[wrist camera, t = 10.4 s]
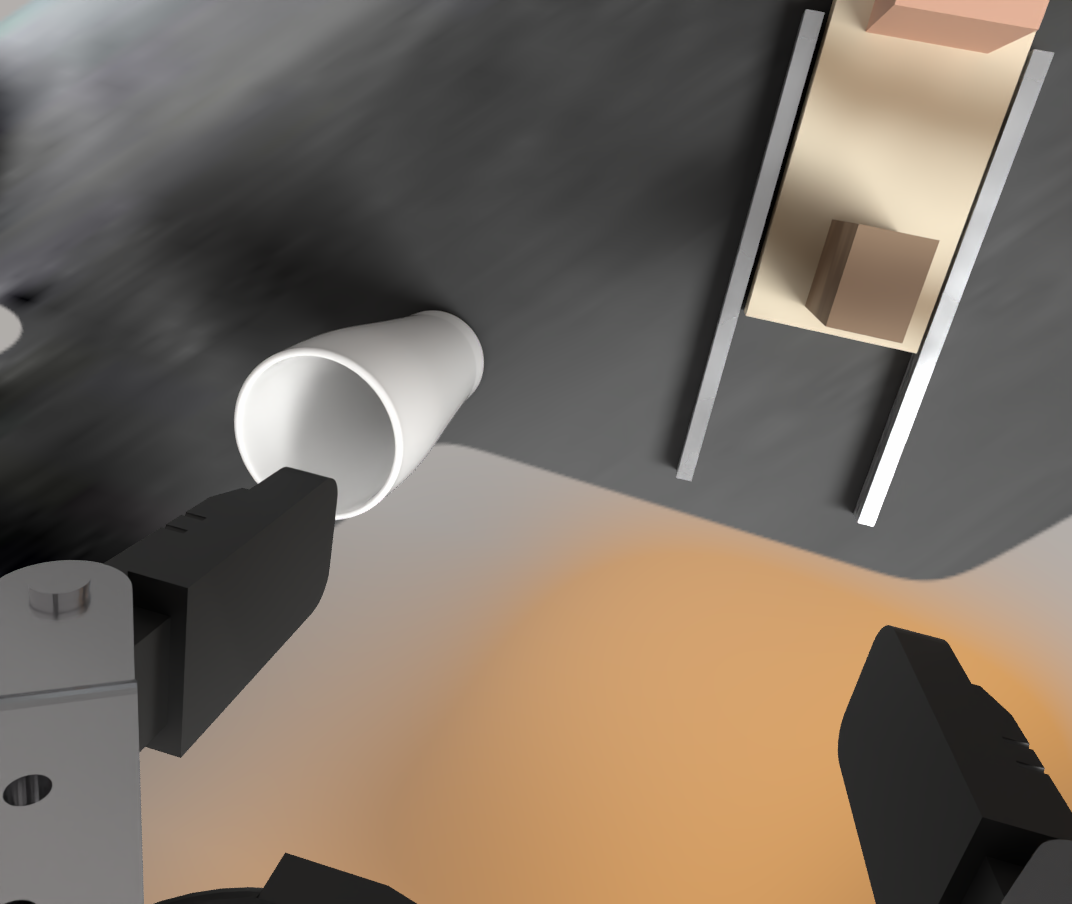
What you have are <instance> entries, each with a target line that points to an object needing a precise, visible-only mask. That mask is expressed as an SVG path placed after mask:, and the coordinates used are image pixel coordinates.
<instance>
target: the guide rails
mask: <svg viewBox="0 0 1072 904" xmlns="http://www.w3.org/2000/svg"><path fill="white" fill-rule="evenodd" d="M824 13H825V12H820V11H814V10H809V9H806V10H805V11H804V13H803V15H802V18H801V21H800V25H799V28H798V32H797V36H796V39H795V43H794V47H793V50H792V54H791V57H790V61H789V65H788V68H787V72H786V76H785V79H784V83H783V86H782V90H781V94H780V97H779V101H778V105H777V108H776V112H775V115H774V119H773V123H772V126H771V130H770V134H769V137H768V141H767V144H766V148H765V152H764V155H763V159H762V163H761V166H760V170H759V173H758V177H757V181H756V184H755V188H754V191H753V195H752V199H751V202H750V206H749V210H748V213H747V217H746V220H745V224H744V228H743V231H742V235H741V239H740V242H739V246H738V249H737V253H736V257H735V260H734V264H733V268H732V271H731V275H730V278H729V282H728V286H727V289H726V293H725V297H724V300H723V304H722V307H721V311H720V315H719V318H718V322H717V325H716V329H715V333H714V336H713V340H712V344H711V347H710V351H709V354H708V358H707V362H706V365H705V369H704V373H703V376H702V380H701V383H700V387H699V391H698V394H697V398H696V402H695V405H694V409H693V412H692V416H691V420H690V423H689V427H688V431H687V434H686V438H685V441H684V445H683V449H682V452H681V456H680V460H679V463H678V467H677V472H676V478H679V479H683V480H687V481H692V477H693V474H694V470H695V467H696V463H697V460H698V456H699V452H700V449H701V445H702V442H703V438H704V435H705V431H706V428H707V424H708V421H709V417H710V414H711V410H712V407H713V403H714V400H715V396H716V393H717V389H718V386H719V382H720V379H721V375H722V372H723V368H724V365H725V361H726V358H727V354H728V351H729V347H730V344H731V340H732V337H733V333H734V330H735V326H736V323H737V319H738V316H739V312H740V308H741V305H742V301H743V298H744V294H745V291H746V287H747V284H748V280H749V277H750V273H751V270H752V266H753V263H754V259H755V256H756V252H757V249H758V245H759V242H760V238H761V235H762V231H763V228H764V224H765V221H766V217H767V214H768V210H769V207H770V203H771V200H772V196H773V193H774V189H775V186H776V182H777V179H778V175H779V172H780V168H781V164H782V161H783V157H784V154H785V150H786V147H787V143H788V140H789V136H790V133H791V129H792V126H793V122H794V119H795V115H796V112H797V108H798V105H799V101H800V98H801V94H802V91H803V87H804V84H805V80H806V77H807V73H808V70H809V66H810V63H811V59H812V56H813V52H814V49H815V45H816V42H817V38H818V35H819V31H820V28H821V24H822V20H823V17H824ZM1053 55H1054V53H1053V52H1047V51H1042V50H1036V49H1034V50H1031V51H1029V52H1028V55H1027V57H1026V60H1025V63H1024V66H1023V68H1022V71H1021V74H1020V76H1019V79H1018V82H1017V84H1016V87H1015V90H1014V92H1013V95H1012V98H1011V101H1010V103H1009V106H1008V109H1007V111H1006V114H1005V117H1004V119H1003V122H1002V125H1001V127H1000V130H999V133H998V136H997V138H996V141H995V144H994V146H993V149H992V152H991V154H990V157H989V160H988V162H987V165H986V168H985V171H984V173H983V176H982V179H981V181H980V184H979V187H978V189H977V192H976V195H975V198H974V200H973V203H972V206H971V208H970V211H969V214H968V216H967V219H966V222H965V224H964V227H963V230H962V233H961V235H960V238H959V241H958V243H957V246H956V249H955V251H954V254H953V257H952V259H951V262H950V265H949V268H948V270H947V273H946V276H945V278H944V281H943V284H942V286H941V289H940V292H939V295H938V297H937V300H936V303H935V305H934V308H933V311H932V313H931V316H930V319H929V321H928V324H927V327H926V330H925V332H924V335H923V338H922V340H921V343H920V346H919V348H918V351H917V353H912V355H911V358H910V361H909V363H908V366H907V369H906V372H905V374H904V377H903V380H902V382H901V385H900V388H899V391H898V393H897V396H896V399H895V401H894V404H893V407H892V409H891V412H890V415H889V418H888V420H887V423H886V426H885V428H884V431H883V434H882V437H881V439H880V442H879V445H878V447H877V450H876V453H875V456H874V458H873V461H872V464H871V466H870V469H869V472H868V474H867V477H866V480H865V483H864V485H863V488H862V491H861V493H860V496H859V499H858V502H857V504H856V507H855V510H854V512H853V515H854V517H855V519H856V521H857V523H861V524H865V525H869V526H873V527H874V524H875V521H876V519H877V516H878V514H879V511H880V508H881V506H882V503H883V500H884V498H885V495H886V493H887V490H888V487H889V485H890V482H891V480H892V477H893V474H894V472H895V469H896V466H897V464H898V461H899V459H900V456H901V453H902V451H903V448H904V445H905V443H906V440H907V438H908V435H909V432H910V430H911V427H912V424H913V422H914V419H915V417H916V414H917V411H918V409H919V406H920V404H921V401H922V398H923V396H924V393H925V390H926V388H927V385H928V383H929V380H930V377H931V375H932V372H933V369H934V367H935V364H936V362H937V359H938V356H939V354H940V351H941V348H942V346H943V343H944V341H945V338H946V335H947V333H948V330H949V328H950V325H951V322H952V320H953V317H954V314H955V312H956V309H957V307H958V304H959V301H960V299H961V296H962V293H963V291H964V288H965V286H966V283H967V280H968V278H969V275H970V273H971V270H972V267H973V265H974V262H975V259H976V257H977V254H978V252H979V249H980V246H981V244H982V241H983V238H984V236H985V233H986V231H987V228H988V225H989V223H990V220H991V217H992V215H993V212H994V210H995V207H996V204H997V202H998V199H999V197H1000V194H1001V191H1002V189H1003V186H1004V183H1005V181H1006V178H1007V176H1008V173H1009V170H1010V168H1011V165H1012V162H1013V160H1014V157H1015V155H1016V152H1017V149H1018V147H1019V144H1020V142H1021V139H1022V136H1023V134H1024V131H1025V128H1026V126H1027V123H1028V121H1029V118H1030V115H1031V113H1032V110H1033V107H1034V105H1035V102H1036V100H1037V97H1038V94H1039V92H1040V89H1041V86H1042V84H1043V81H1044V79H1045V76H1046V73H1047V71H1048V68H1049V66H1050V63H1051V60H1052V58H1053Z"/></svg>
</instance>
